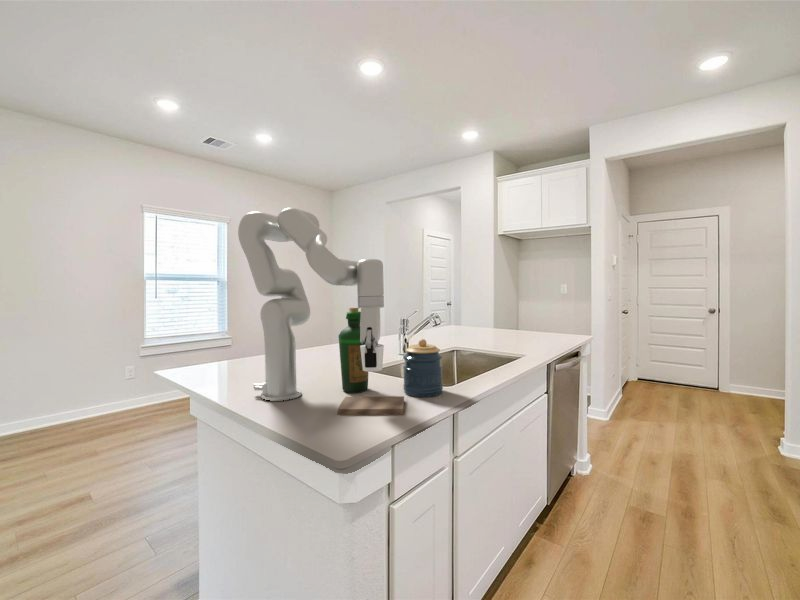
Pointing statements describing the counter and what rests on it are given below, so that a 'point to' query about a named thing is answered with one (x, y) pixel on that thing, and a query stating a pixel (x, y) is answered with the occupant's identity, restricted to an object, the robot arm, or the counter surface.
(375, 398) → the walnut board
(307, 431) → the counter surface
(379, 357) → the shot glass
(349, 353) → the bottle
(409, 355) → the canister
